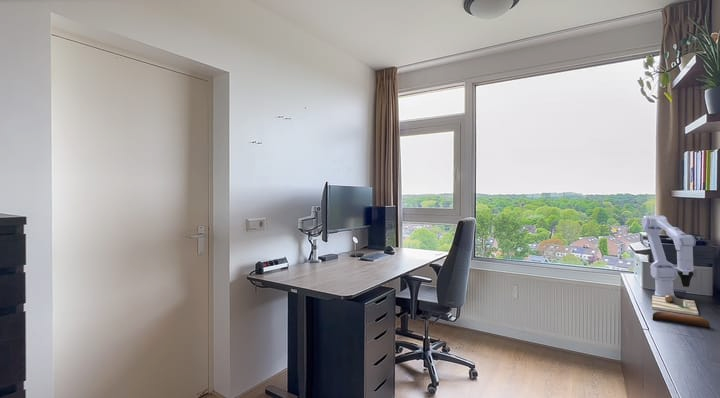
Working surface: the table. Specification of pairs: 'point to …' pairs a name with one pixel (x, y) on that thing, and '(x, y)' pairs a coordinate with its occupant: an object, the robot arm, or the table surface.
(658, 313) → the sunglasses case
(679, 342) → the table surface
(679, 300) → the bronze ball with handle
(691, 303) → the board
